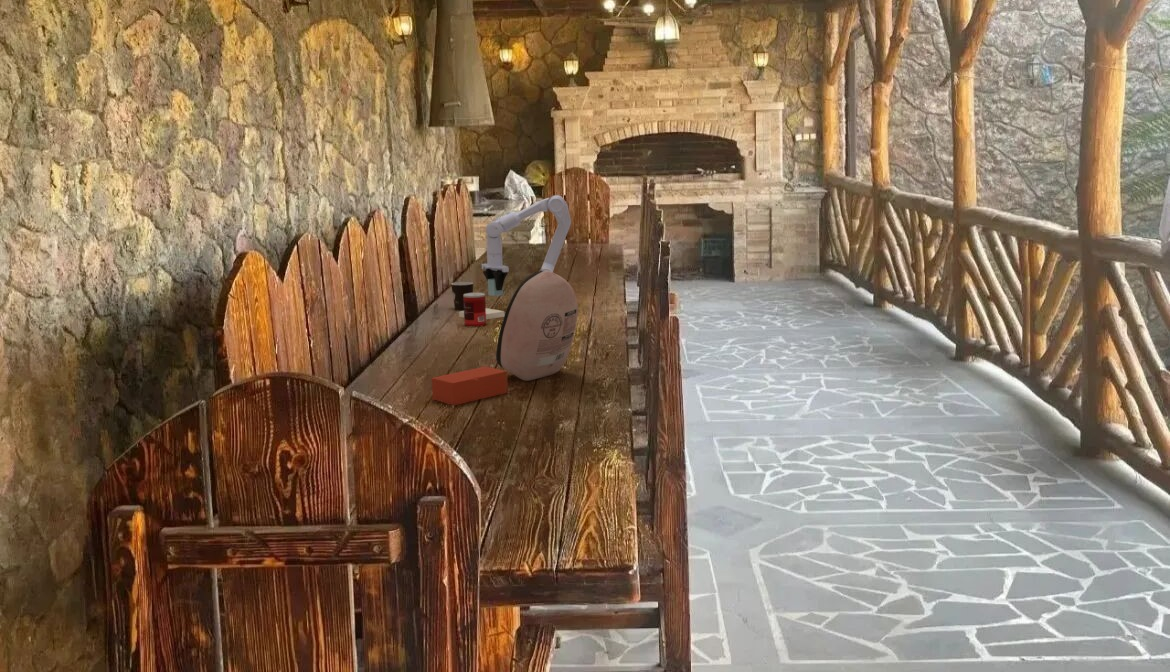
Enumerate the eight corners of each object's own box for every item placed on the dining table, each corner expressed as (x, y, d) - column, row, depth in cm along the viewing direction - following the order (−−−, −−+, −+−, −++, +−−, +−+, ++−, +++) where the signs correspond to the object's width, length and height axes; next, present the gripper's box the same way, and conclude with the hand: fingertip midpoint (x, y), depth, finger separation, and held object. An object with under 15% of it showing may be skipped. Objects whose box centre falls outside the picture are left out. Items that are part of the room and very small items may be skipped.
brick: (486, 388, 283) (485, 366, 282) (508, 393, 277) (507, 371, 276) (431, 400, 271) (430, 377, 270) (453, 406, 265) (453, 383, 263)
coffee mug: (472, 310, 407) (472, 284, 405) (450, 311, 407) (449, 285, 405) (476, 305, 418) (475, 280, 416) (454, 306, 418) (453, 281, 417)
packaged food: (539, 365, 308) (536, 263, 302) (592, 374, 296) (590, 267, 290) (486, 380, 291) (482, 271, 286) (539, 389, 279) (536, 276, 273)
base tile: (504, 316, 392) (504, 311, 392) (478, 320, 385) (477, 315, 384) (485, 312, 401) (485, 307, 401) (459, 316, 393) (459, 311, 393)
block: (503, 294, 399) (502, 279, 398) (494, 296, 397) (493, 280, 395) (496, 293, 402) (496, 278, 401) (488, 295, 400) (487, 279, 398)
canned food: (488, 322, 380) (487, 292, 378) (483, 326, 372) (482, 295, 370) (467, 322, 381) (465, 292, 379) (462, 326, 373) (461, 295, 371)
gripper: (474, 253, 399) (475, 288, 402) (497, 256, 389) (498, 292, 391) (489, 251, 404) (490, 286, 406) (512, 254, 393) (513, 290, 396)
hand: (495, 289), depth 399 cm, fingers closed on block, 4 cm apart
